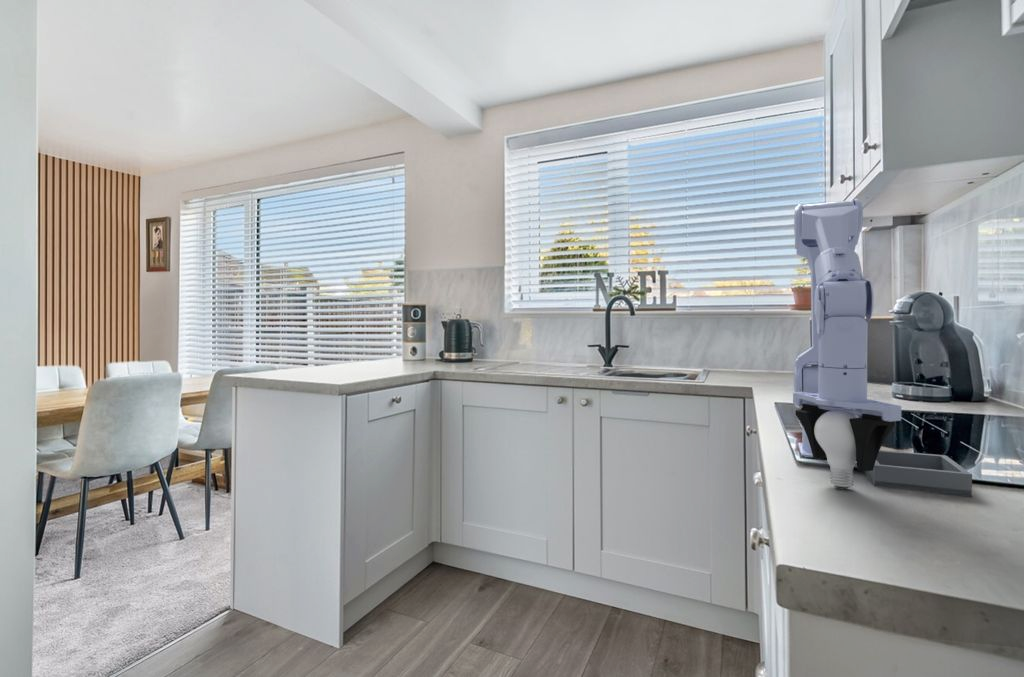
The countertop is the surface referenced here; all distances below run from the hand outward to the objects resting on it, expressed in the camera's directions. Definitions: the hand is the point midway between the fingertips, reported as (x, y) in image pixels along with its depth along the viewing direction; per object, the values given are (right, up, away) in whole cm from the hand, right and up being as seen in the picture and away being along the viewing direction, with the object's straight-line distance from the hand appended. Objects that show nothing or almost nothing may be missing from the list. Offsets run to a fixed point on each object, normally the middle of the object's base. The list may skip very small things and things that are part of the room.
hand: (841, 463), depth 71 cm
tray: (+12, -3, +3) cm, 13 cm away
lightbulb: (0, -4, 0) cm, 4 cm away
